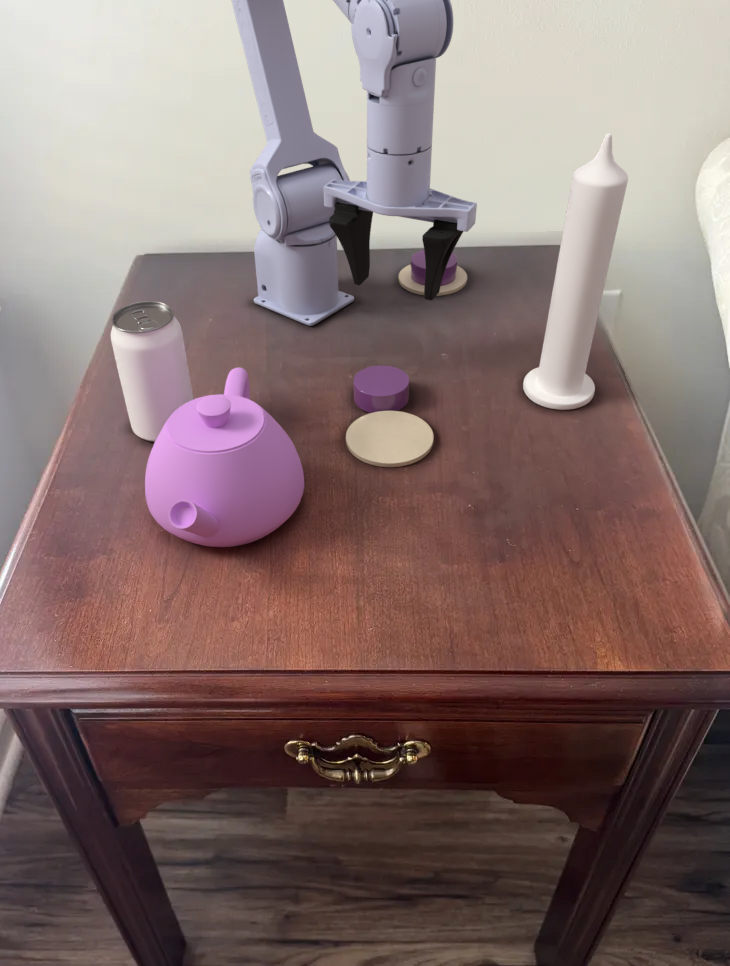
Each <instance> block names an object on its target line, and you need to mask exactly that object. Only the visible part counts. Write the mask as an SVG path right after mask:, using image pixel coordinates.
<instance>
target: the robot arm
mask: <svg viewBox="0 0 730 966" xmlns="http://www.w3.org/2000/svg"><path fill="white" fill-rule="evenodd" d="M230 2H231V5H232V9H233V13H234V16H235V21H236V25H237V29H238V33H239V37H240V41H241V45H242V48H243V49H242V50H243V53H244V56H245V60H246V65H247V68H248V73H249V76H250V80H251V84H252V89H253V91H254V96H255V100H256V104H257V108H258V112H259V116H260V120H261V124H262V127H263V132H264V136H265V140H266V144H265V146H264V148H263V149H262V150H261V152H260V153H259V155H258V157H257V158H256V160H254V163H253V164H252V166H251V167H250V170H249V178H250V183H251V188H252V205H253V211H254V215H255V218H256V221H257V223H258V225H259V227H260V228H261V229H260V230H259V231H258V234H257V236H256V239H255V242H254V248H253V253H254V265H255V275H256V285H257V296H255V297H254V298H253V303H254V304H256V305H258V306H260V307H263V308H266V309H268V310H271V311H273V312H274V313H278V314H280V315H282V316H284V317H287V318H289V319H290V320H291V319H292V320H293V321H296V322H299V323H301V324H303V325H306V326H309V327H312V326H315V325H317V324H318V323H320V322H321V321H323V320H325V319H326V318H328V317H330V316H331V315H333V314H334V313H336V312H338V311H339V310H341V309H343V308H344V307H347V306H348V305H350V304H351V303H352V302H354V301H355V296H353V295H351V294H349V293H346V292H344V291H340V290H339V264H338V263H339V262H338V259H339V258H338V241H339V243H340V246H341V247H342V249H343V252H344V254H345V256H346V260H347V263H348V265H349V270H350V274H351V277H352V281H353V284H354V285H356V286H361V285H362V284H363V283H364V282H365V281H366V280H367V279H368V278H369V277H370V269H371V249H370V245H371V244H370V243H371V232H372V231H371V229H372V222H373V216H374V213H375V214H378V215H381V216H387V217H399V218H405V219H411V220H416V221H421V222H426V223H427V222H428V223H432V226H431V227H430V228H428V229H427V231H425V232H424V233H423V234H422V240H421V241H422V245H423V250H424V251H425V262H426V275H425V288H424V294H425V295H424V300H427V301H433V300H434V299H435V298H436V297H437V296H436V295H437V294H438V293H439V291H440V286H441V282H442V278H443V275H444V272H445V269H446V266H447V263H448V261H449V259H450V256H451V254H452V253H454V250H455V248H456V246H457V244H458V242H459V241H460V238H461V237H462V235H463V233H464V232H465V233H467V232H469V231H470V230H471V229H472V228H473V227H474V225H475V224H476V219H477V208H478V203H477V202H475V201H469V200H465V199H462V198H458V197H455V196H453V195H450V194H447V193H444V192H442V191H439V190H436V189H434V188H431V176H432V175H431V174H432V156H433V155H432V154H433V153H432V151H433V135H434V134H433V132H434V131H433V130H434V114H435V113H434V109H435V94H436V93H435V91H436V73H437V72H436V70H437V69H436V68H437V59H438V58H440V57H442V56H443V55H444V54H445V53H446V52H447V50H448V48H449V46H450V44H451V41H452V37H453V33H454V12H453V6H452V2H451V0H332V2H334V4H335V6H336V7H338V9H339V10H340V11H341V13H342V14H343V15H344V16H345V17H346V19H347V20H348V22H350V25H351V26H350V27H351V28H350V31H351V36H352V37H351V38H352V44H353V47H354V48H353V49H354V50H355V53H356V56H357V58H358V62H359V63H358V64H359V81H360V82H361V87H362V89H363V90H364V91H366V180H351V179H350V176H349V175H348V173H347V172H346V169H345V167H344V165H343V162H342V159H341V156H340V153H339V148H338V147H337V146H336V145H335V144H333V143H332V142H330V141H329V140H327V139H325V138H324V137H322V136H320V135H319V134H317V133H316V132H314V128H313V123H312V119H311V114H310V111H309V105H308V101H307V98H306V92H305V89H304V85H303V80H302V75H301V70H300V67H299V62H298V58H297V55H296V54H297V53H296V50H295V45H294V41H293V37H292V32H291V28H290V24H289V19H288V16H287V10H286V7H285V2H284V0H230ZM300 165H310V166H309V167H306V168H302V169H298V170H294V171H291V172H286V173H283V174H280V172H281V171H282V170H285V169H288V168H292V167H293V168H294V167H297V166H300ZM279 174H280V175H279Z"/></svg>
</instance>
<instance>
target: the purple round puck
mask: <svg viewBox="0 0 730 966" xmlns="http://www.w3.org/2000/svg"><path fill="white" fill-rule="evenodd" d="M410 264H411V273H410V276H411V279H412V280H413V281H414V282H416V283H418V284H421V285H424V286H425V275H426V262H425V251H424V249H422V250H419V251H417V252H415V253H414V254H412V256H411V257H410ZM457 266H458V256H457V255H456V254H455V253H454V252H452V254H451V256H450V259H449V261H448V263H447V266H446V269H445V272H444V275H443V278H442V282H441V286H443V285H447V284H449V283H451V282H453V281H454V280H455V278H456V273H457Z"/></svg>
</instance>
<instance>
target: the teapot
mask: <svg viewBox="0 0 730 966" xmlns="http://www.w3.org/2000/svg"><path fill="white" fill-rule="evenodd" d="M250 389H251V388H250V377H249V374H248V372H247V370H246V369H245V368H243V367H238V366H237V367H234V368H232V369H231V370H230V371H229V373H228V375H227V377H226V381H225V385H224V391H223V393H222V394H221V393H220V394H210V395H209V394H208V395H204V396H199V397H196V398H193V400H191V401H189V402H187V403H185V404H183V405H182V406H180V407H179V408H178V409H176V410H175V411H174V412H173V413H172V414H171V416H170V417H169V418H168V420H167V421H166V423H165V424H164V426H163V428H162V430H161V431H160V433H159V435H158V437H157V439H156V441H155V442H153V445H152V448H151V451H150V452H149V456H148V459H147V462H146V468H145V477H144V490H145V491H144V495H145V501H146V505H147V508H148V511H149V513H150V515H151V516H152V517H153V519H154V520H155V521H156V523H157V524H158V525H159V526H160V527H161V528H162V529H163V530H165V531H167V532H168V533H169V534H171V535H173V536H175V537H177V538H179V539H181V540H184V541H186V542H189V543H192V544H195V545H200V546H204V547H210V548H231V547H238V546H239V547H240V546H243V545H247V544H250V543H253V542H256V541H258V540H260V539H263V538H264V537H266V536H268V535H270V534H271V533H273V532H274V531H276V530H277V529H278V528H280V527H281V526H282V525H283V524H284V523H285V522H286V521H287V520H289V518H290V517H291V516H292V515H293V514H294V513H295V512H296V510H297V509H298V506H299V505H300V502H301V500H302V497H303V494H304V491H305V490H304V489H305V474H304V469H303V465H302V462H301V458H300V456H299V454H298V451H297V449H296V447H295V444H294V443H293V441H292V439H291V438H290V436H289V435H288V433H287V432H286V431H285V429H284V428H283V427H282V426H281V425H280V424H279V423H278V422H277V421H276V419H275V418H274V417H273V416H272V415H271V414H270V413H269V412H268V411H267V410H265V409H264V408H263V406H261V405H259V404H258V403H257V402H255V401H253V400H251V395H250V394H251V390H250Z"/></svg>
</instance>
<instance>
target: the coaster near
mask: <svg viewBox="0 0 730 966" xmlns="http://www.w3.org/2000/svg"><path fill="white" fill-rule="evenodd" d="M434 438H435V436H434V432H433V429H432V427H431V426H430V425H429V424H428V423H427V422H426V421H425V420H423V419H422V418H420V417H419V416H417V415H415V414H412V413H408V412H405V411H400V410H398V411H378V412H373V413H367V414H364V415H362V416H360V417H358V418H357V419H355V420H354V421H353V422H351V424H350V425H349V426H348V427H347V430H346V432H345V444H346V448H347V449H348V451H349V452H350V454H351V455H352V456H353V457H355V458H356V459H357V460H359V461H361V462H363V463H365V464H368V465H371V466H375V467H380V468H397V467H398V468H400V467H405V466H409V465H412V464H415V463H417V462H419V461H421V460H422V459H424V458H425V457H426V456H427V455H428V454H430V452H431V450H432V449H433V446H434Z"/></svg>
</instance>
